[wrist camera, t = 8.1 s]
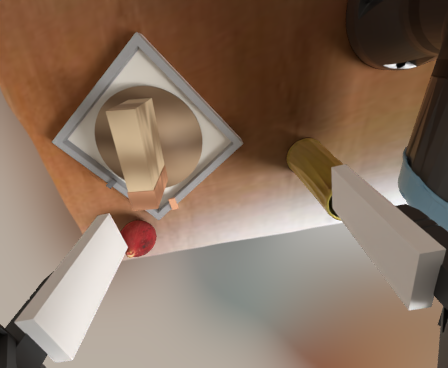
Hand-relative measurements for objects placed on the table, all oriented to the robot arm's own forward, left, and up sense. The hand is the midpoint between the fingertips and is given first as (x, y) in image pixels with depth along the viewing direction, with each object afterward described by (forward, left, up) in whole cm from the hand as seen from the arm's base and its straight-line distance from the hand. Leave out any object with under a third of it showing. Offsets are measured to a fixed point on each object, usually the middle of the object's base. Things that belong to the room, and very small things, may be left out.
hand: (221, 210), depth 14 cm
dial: (+9, -4, -23) cm, 25 cm away
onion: (+23, +5, -25) cm, 34 cm away
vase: (-6, +15, -25) cm, 29 cm away
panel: (+9, -4, -24) cm, 26 cm away
